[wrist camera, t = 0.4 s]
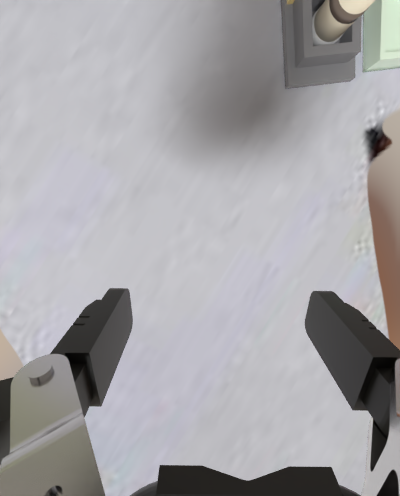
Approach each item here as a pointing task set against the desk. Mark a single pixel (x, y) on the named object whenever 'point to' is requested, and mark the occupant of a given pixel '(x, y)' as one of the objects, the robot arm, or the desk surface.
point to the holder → (315, 48)
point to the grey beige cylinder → (336, 19)
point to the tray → (381, 36)
